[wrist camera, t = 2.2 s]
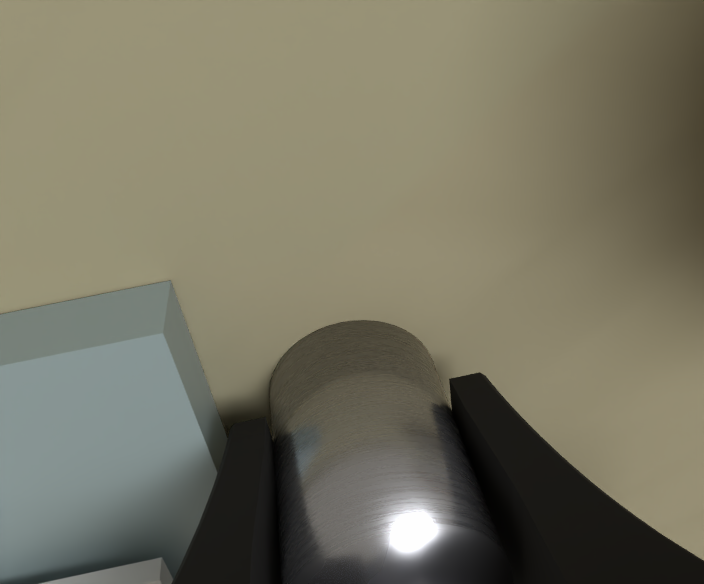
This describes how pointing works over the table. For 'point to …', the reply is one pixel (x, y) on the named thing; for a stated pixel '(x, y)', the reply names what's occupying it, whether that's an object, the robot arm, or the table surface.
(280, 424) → the cylinder
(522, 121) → the table surface
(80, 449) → the scale
